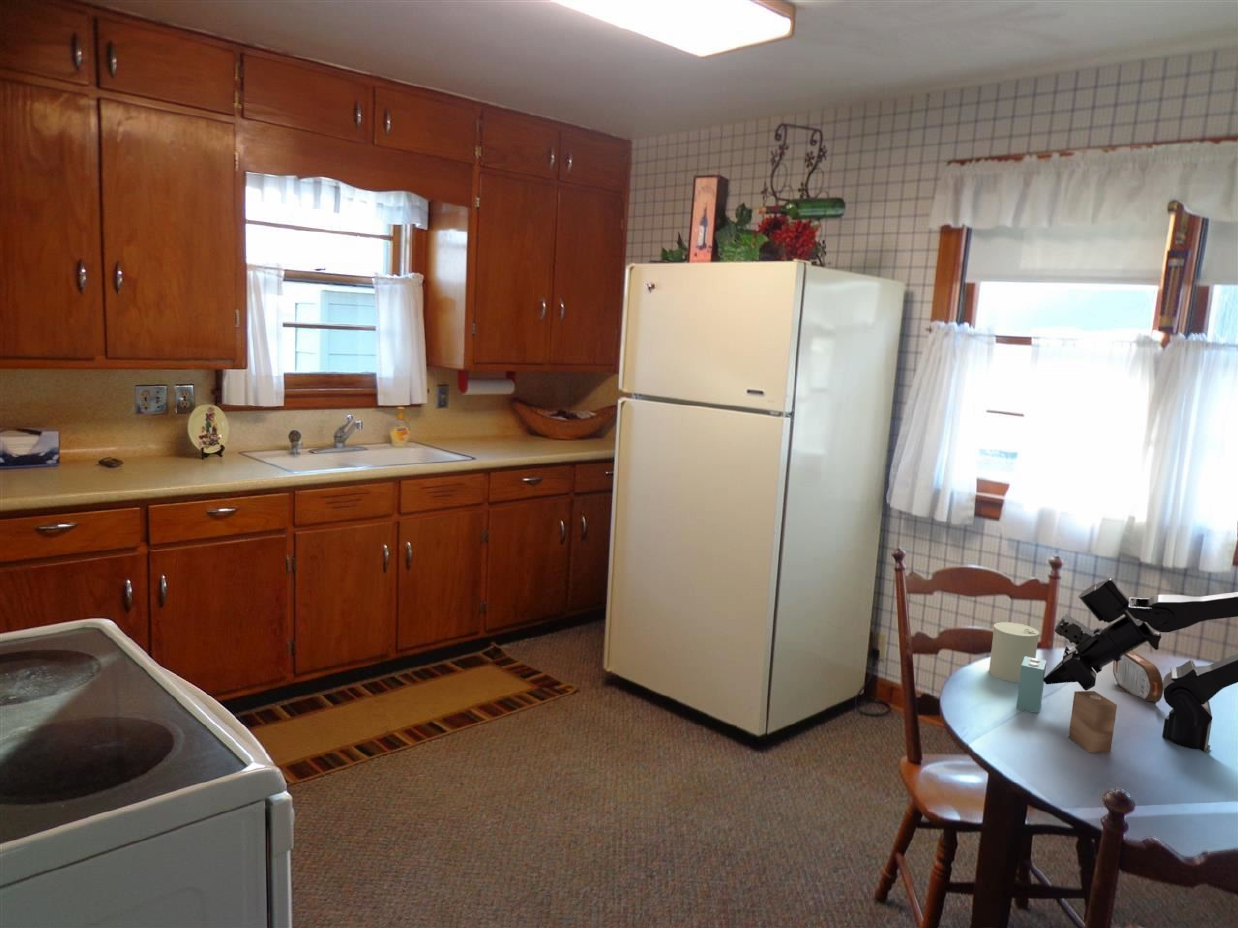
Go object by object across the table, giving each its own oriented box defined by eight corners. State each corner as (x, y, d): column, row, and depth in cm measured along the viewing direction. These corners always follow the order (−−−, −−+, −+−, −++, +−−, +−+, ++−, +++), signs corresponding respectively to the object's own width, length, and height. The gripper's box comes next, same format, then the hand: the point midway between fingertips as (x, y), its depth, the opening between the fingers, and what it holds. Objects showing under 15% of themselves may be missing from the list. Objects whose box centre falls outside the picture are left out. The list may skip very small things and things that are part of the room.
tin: (1161, 709, 181) (1167, 670, 179) (1146, 708, 181) (1152, 669, 179) (1122, 680, 196) (1127, 644, 194) (1107, 680, 196) (1112, 643, 194)
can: (1027, 691, 187) (1034, 637, 185) (982, 679, 192) (988, 626, 191) (1037, 678, 194) (1044, 626, 192) (994, 667, 200) (999, 616, 198)
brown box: (1088, 736, 164) (1094, 690, 162) (1110, 752, 158) (1117, 703, 156) (1068, 737, 163) (1074, 690, 162) (1090, 752, 157) (1096, 704, 156)
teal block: (1041, 702, 178) (1046, 659, 177) (1038, 713, 173) (1043, 668, 172) (1019, 698, 180) (1025, 655, 179) (1016, 708, 175) (1021, 664, 174)
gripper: (1088, 594, 178) (1022, 635, 185) (1083, 618, 162) (1011, 661, 169) (1127, 640, 175) (1059, 679, 182) (1126, 669, 159) (1051, 711, 166)
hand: (1044, 681), depth 175 cm, fingers closed, pressing on teal block
